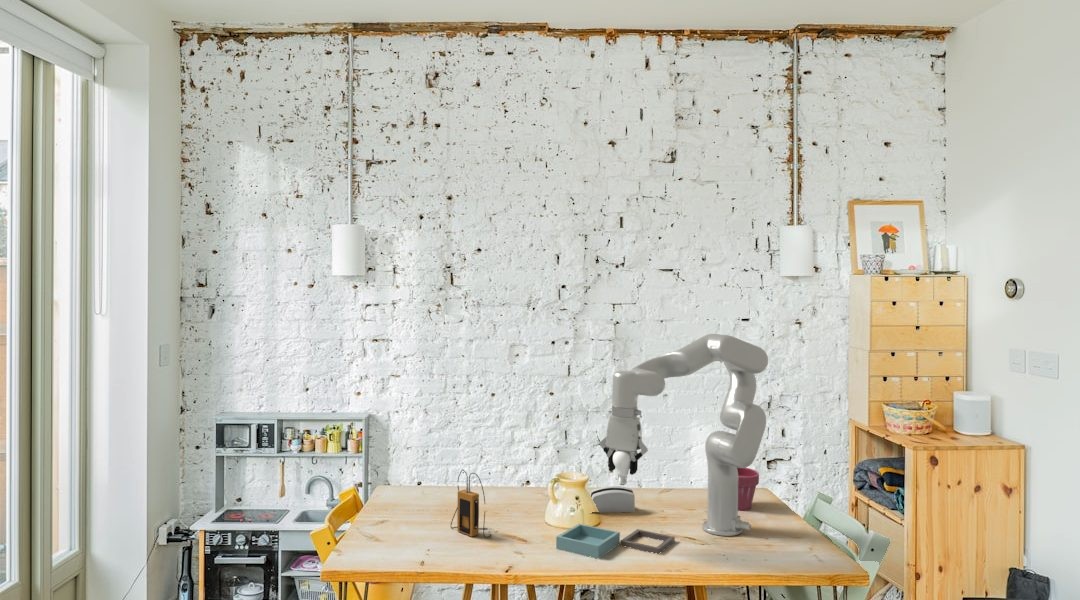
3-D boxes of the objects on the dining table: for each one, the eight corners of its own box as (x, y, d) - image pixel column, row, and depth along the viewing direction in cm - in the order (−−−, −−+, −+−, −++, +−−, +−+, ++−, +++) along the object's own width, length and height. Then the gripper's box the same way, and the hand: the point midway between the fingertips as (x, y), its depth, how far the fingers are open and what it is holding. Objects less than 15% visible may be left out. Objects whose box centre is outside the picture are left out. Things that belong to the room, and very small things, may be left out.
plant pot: (766, 511, 247) (766, 475, 247) (729, 514, 244) (730, 477, 244) (745, 499, 261) (745, 465, 261) (710, 501, 258) (710, 466, 258)
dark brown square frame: (674, 541, 217) (674, 536, 217) (658, 554, 207) (658, 549, 207) (637, 533, 224) (637, 529, 224) (620, 545, 213) (620, 540, 213)
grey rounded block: (631, 506, 251) (634, 482, 248) (635, 515, 247) (638, 491, 244) (585, 508, 249) (587, 484, 246) (588, 517, 245) (590, 492, 241)
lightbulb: (632, 488, 210) (633, 451, 210) (610, 486, 211) (612, 450, 211) (633, 483, 216) (634, 447, 216) (612, 481, 217) (613, 445, 217)
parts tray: (619, 543, 215) (619, 532, 215) (598, 558, 203) (598, 546, 203) (579, 534, 222) (579, 523, 222) (556, 548, 210) (556, 536, 210)
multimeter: (503, 532, 224) (504, 469, 223) (480, 540, 216) (480, 475, 216) (472, 521, 234) (473, 461, 233) (449, 529, 226) (449, 466, 226)
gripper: (656, 414, 212) (654, 474, 212) (604, 407, 221) (602, 465, 221) (646, 417, 206) (644, 479, 206) (593, 410, 215) (591, 469, 215)
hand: (622, 471), depth 213 cm, fingers closed on lightbulb, 6 cm apart
